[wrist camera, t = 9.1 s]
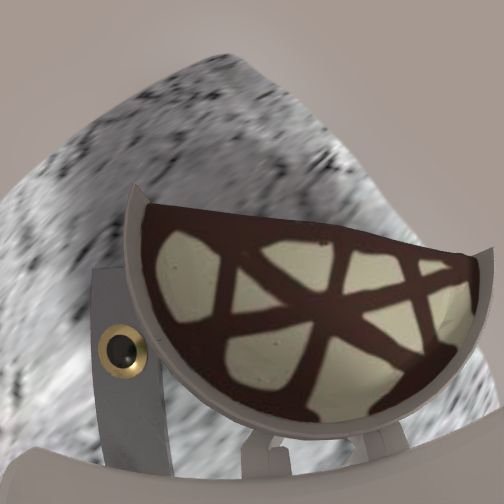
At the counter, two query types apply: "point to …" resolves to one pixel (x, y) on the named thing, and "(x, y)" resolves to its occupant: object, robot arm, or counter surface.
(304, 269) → the food container
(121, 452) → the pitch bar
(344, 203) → the counter surface
